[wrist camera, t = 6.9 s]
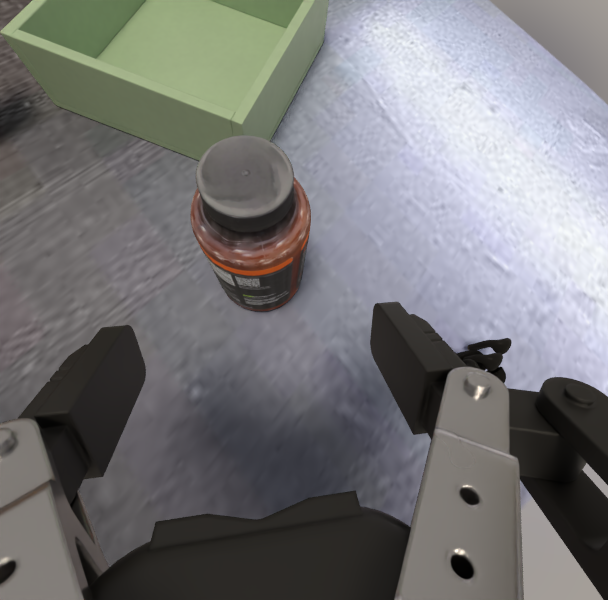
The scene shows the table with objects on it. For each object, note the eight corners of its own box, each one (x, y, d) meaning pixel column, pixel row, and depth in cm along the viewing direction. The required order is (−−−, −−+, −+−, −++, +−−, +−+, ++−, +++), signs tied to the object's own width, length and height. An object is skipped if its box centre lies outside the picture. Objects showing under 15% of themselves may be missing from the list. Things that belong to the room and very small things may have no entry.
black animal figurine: (474, 340, 23) (526, 326, 19) (494, 371, 23) (552, 365, 18) (395, 382, 22) (428, 378, 17) (413, 416, 21) (453, 423, 17)
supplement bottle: (280, 228, 25) (283, 97, 14) (314, 293, 23) (346, 205, 13) (208, 256, 24) (149, 138, 13) (239, 327, 22) (203, 262, 11)
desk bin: (55, 105, 26) (-2, 31, 21) (160, -18, 32) (136, -101, 26) (249, 180, 26) (242, 124, 20) (323, 42, 31) (332, -31, 26)
